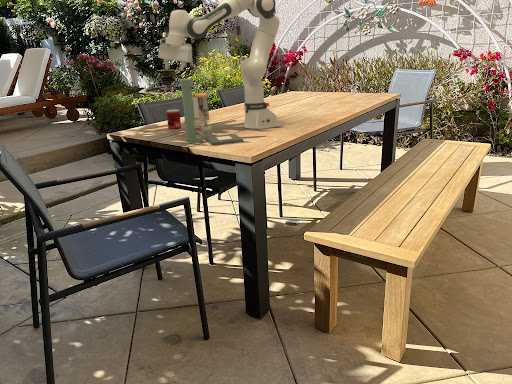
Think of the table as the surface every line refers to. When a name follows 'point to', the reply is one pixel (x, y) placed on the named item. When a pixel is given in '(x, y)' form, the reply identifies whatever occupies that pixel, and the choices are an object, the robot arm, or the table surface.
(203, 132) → the housing
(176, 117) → the canned food
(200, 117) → the coffee box
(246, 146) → the table surface
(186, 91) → the frame
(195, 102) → the ram
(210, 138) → the plate
